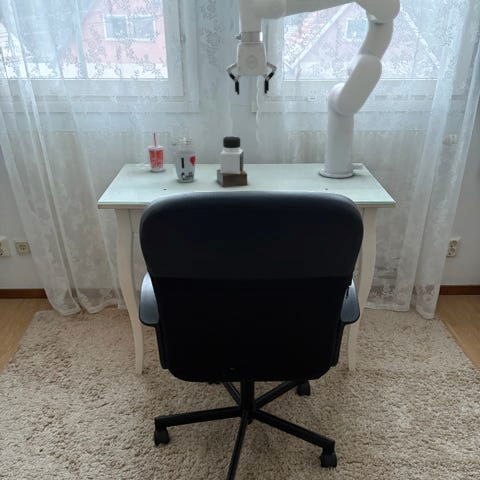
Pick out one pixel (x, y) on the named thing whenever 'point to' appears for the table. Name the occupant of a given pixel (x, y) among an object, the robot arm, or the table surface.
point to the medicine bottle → (231, 156)
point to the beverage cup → (156, 157)
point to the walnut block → (232, 179)
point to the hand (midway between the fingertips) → (251, 93)
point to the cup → (185, 165)
